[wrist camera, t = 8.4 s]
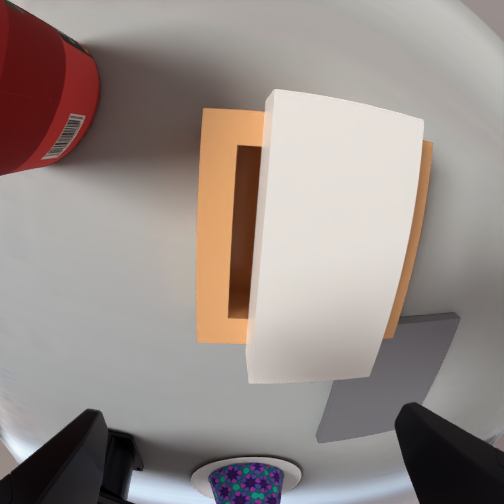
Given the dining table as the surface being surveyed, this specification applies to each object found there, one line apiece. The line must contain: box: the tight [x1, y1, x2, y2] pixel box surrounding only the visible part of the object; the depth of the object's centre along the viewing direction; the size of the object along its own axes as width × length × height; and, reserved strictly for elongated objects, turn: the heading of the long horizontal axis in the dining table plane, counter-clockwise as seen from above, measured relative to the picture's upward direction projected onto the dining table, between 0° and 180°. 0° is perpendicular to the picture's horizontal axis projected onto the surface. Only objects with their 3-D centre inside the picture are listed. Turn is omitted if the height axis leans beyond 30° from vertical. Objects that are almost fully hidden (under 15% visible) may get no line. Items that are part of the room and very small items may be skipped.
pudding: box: [191, 457, 302, 504], centre depth 24 cm, size 12×12×5 cm
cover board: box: [246, 89, 424, 384], centre depth 13 cm, size 12×6×2 cm, turn 176°
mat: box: [316, 313, 460, 443], centre depth 22 cm, size 13×10×1 cm
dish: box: [196, 108, 433, 344], centre depth 16 cm, size 11×11×4 cm
